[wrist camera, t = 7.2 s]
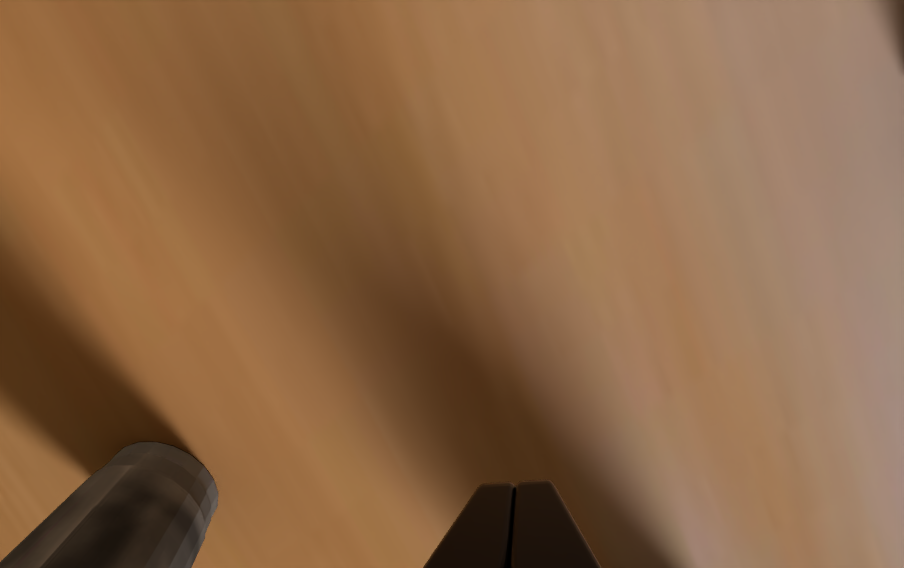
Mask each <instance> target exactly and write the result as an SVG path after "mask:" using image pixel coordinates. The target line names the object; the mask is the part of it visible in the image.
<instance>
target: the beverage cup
mask: <svg viewBox="0 0 904 568" xmlns="http://www.w3.org/2000/svg"><path fill="white" fill-rule="evenodd" d="M217 505H218V491H217V488H216V485H215V482H214V479H213V478H212V477H211V475H210V474H209V472H208V471H207V470H206V468H205V467H204V466H203V465H202V464H201V463H200V462H198V461H197V460H196V459H195V458H194V457H192V456H191V455H190V454H188V453H186V452H184V451H182V450H180V449H178V448H176V447H174V446H170V445H166V444H162V443H158V442H138V443H135V444H132V445H129V446H126V447H124V448H123V449H122V450H121V451H119V452H118V453H117V454H116V455H115V456H114V457H113V458H112V459H111V460H110V462H108V463H107V464H106V465H105V466H104V467H103V468H101V469H100V470H98V471H96V472H95V473H94V474H93V475H92V476H91V477H89V478H88V479H87V480H86V481H85V482H84V483H83V484H82V485H81V486H80V487H79V488H77V489H76V490H75V491H74V492H73V493H72V494H71V495H70V496H69V497H68V498H67V499H66V500H65V501H64V502H63V503H62V504H61V505H60V506H59V507H57V508H56V509H55V510H54V511H53V512H52V513H51V514H50V515H49V516H48V517H47V518H46V519H45V520H44V521H43V522H42V523H41V524H40V525H39V526H38V527H36V528H35V529H34V530H33V531H32V532H31V533H30V534H29V535H28V536H27V537H26V538H25V539H24V540H23V541H22V542H21V543H20V544H19V545H18V546H17V547H15V548H14V549H13V550H12V551H11V552H10V553H9V554H8V555H7V556H6V557H5V558H4V559H3V560H2V561H1V562H0V568H191V567H192V565H193V563H194V561H195V558H196V556H197V554H198V552H199V550H200V547H201V545H202V543H203V541H204V539H205V533H206V530H207V528H208V526H209V523H210V521H211V517H212V515H213V513H214V512H215V510H216V508H217Z"/></svg>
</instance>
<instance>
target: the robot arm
mask: <svg viewBox="0 0 904 568" xmlns="http://www.w3.org/2000/svg"><path fill="white" fill-rule="evenodd" d="M423 568H601V566H600V564H599V562H598V560H597V559H596V557H595V555H594V553H593V552H592V550H591V548H590V546H589V545H588V543H587V541H586V539H585V538H584V536H583V534H582V532H581V531H580V529H579V527H578V525H577V524H576V522H575V520H574V518H573V517H572V515H571V513H570V511H569V510H568V508H567V506H566V504H565V503H564V501H563V499H562V497H561V496H560V494H559V492H558V490H557V489H556V487H555V485H554V484H553V483H552V482H551V481H550V480H546V479H545V480H529V481H520V482H519V483H518V484H517V486H515V485H514V484H513V483H512V482H498V483H485V484H482V485H480V486H479V487H478V488H477V489H476V491H475V492H474V494H473V495H472V497H471V498H470V500H469V501H468V503H467V504H466V505H465V507H464V508H463V510H462V511H461V513H460V514H459V516H458V517H457V519H456V520H455V522H454V523H453V524H452V526H451V527H450V529H449V530H448V532H447V533H446V535H445V536H444V538H443V539H442V541H441V542H440V543H439V545H438V546H437V548H436V549H435V551H434V552H433V554H432V555H431V557H430V558H429V560H428V561H427V563H426V564H425V565H424V567H423Z"/></svg>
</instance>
